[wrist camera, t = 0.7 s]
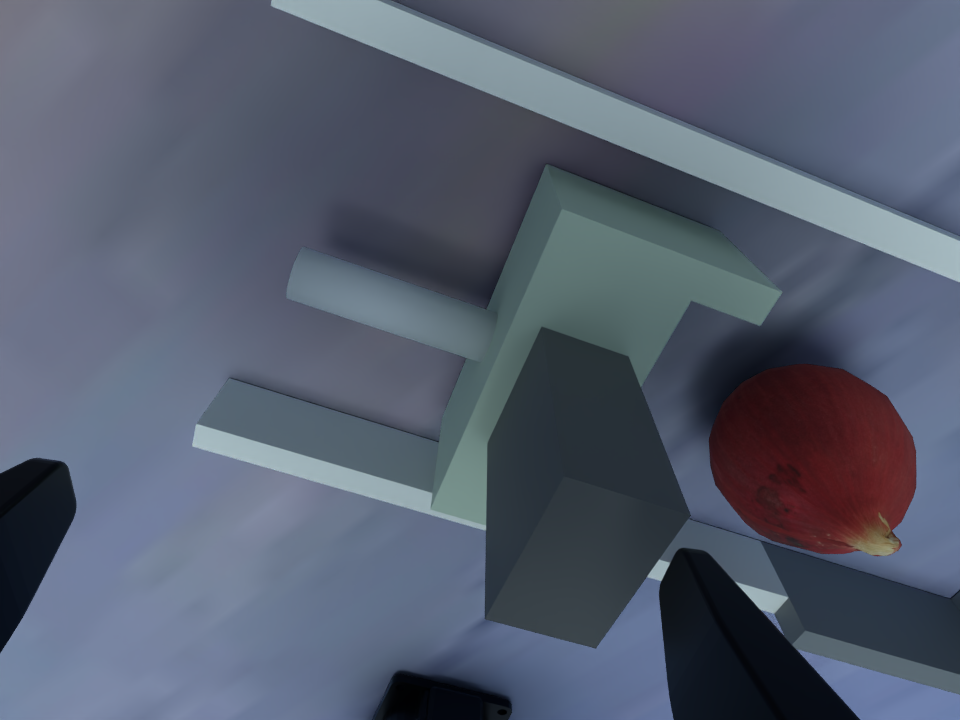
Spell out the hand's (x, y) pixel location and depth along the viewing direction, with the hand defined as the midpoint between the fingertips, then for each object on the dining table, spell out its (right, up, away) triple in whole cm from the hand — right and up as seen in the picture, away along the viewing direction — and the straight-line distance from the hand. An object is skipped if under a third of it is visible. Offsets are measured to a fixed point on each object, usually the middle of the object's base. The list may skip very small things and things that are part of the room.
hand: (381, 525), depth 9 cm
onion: (+12, +1, +15) cm, 19 cm away
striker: (+2, +5, +13) cm, 13 cm away
